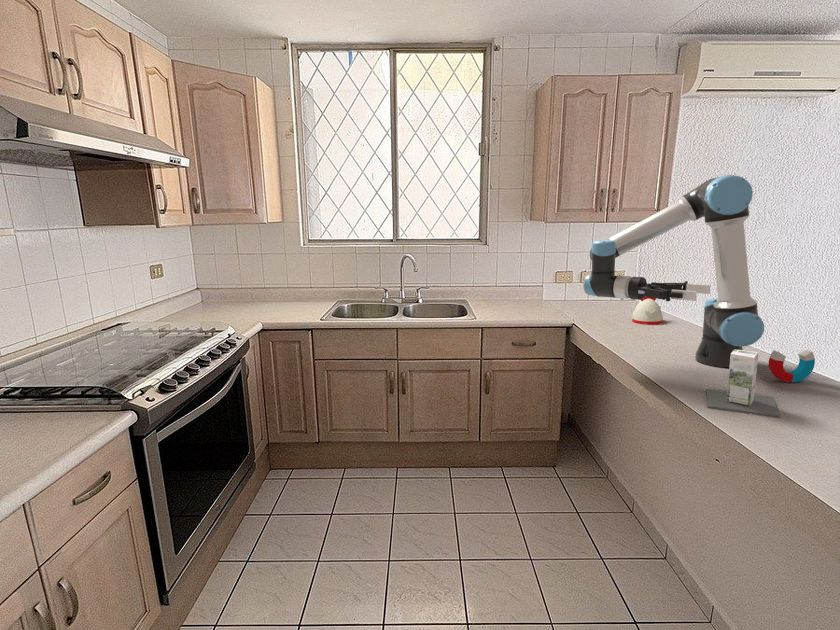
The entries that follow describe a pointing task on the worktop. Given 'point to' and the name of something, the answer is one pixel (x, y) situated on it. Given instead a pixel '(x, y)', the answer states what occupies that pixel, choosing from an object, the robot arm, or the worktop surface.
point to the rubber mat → (758, 406)
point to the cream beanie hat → (647, 312)
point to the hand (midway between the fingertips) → (703, 292)
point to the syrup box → (742, 377)
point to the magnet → (797, 374)
